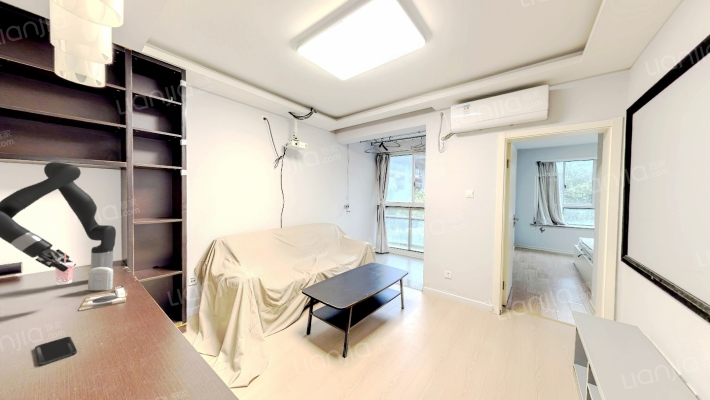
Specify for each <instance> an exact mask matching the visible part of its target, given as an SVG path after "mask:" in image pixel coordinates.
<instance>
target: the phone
mask: <svg viewBox="0 0 710 400" xmlns="http://www.w3.org/2000/svg"><path fill="white" fill-rule="evenodd" d="M34 351H35V356H36V361H37V366H39V367H42V366H45V365H49V364H51V363H54V362H58V361H60V360H64V359H66V358H69V357H71V356H74V355H76V354H77V353H78V350H77V347H76V345H75V344H74V341H73V339H72V337H71V336H66V337H62V338H59V339H58V338H57V339H55V340H52V341H48V342H45V343H41V344H38V345H36V346H35V347H34Z"/></svg>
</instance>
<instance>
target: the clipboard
mask: <svg viewBox="0 0 710 400" xmlns="http://www.w3.org/2000/svg"><path fill="white" fill-rule="evenodd" d="M125 291H126V292H127V293H126V296H125V297H117V296H116V295H115V293H114V292H110V293H109V292H108V293H103V294H97V295H90V296H86V298H85V299H84V301H83V302H82V304H81V306H80V307H79V309H78V312H81V311H86V310H92V309H98V308H99V309H100V308H102V307H104V308H105V307H107V306H114V305H120V304H125V303H126V301H127V296H128V292H129V290H125ZM125 300H126V301H125Z"/></svg>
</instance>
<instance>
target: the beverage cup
mask: <svg viewBox="0 0 710 400" xmlns="http://www.w3.org/2000/svg"><path fill="white" fill-rule="evenodd" d="M66 255H67V253H65V252H64V263H62V262H61V263H62V264H63V265H65V266H67V267H68V269H67V270H66V271H64V272H62V271H60V270H59V269H57V268H55V267H54V268H55V281H56V285H58V286H60V285H61V286H62V285H63V286H64V285H68V284H71V283H73V275H74V267H75V266H76V265H75V264H76V263H75V262H74V261H72V262H67V263H66ZM74 265H75V266H74Z"/></svg>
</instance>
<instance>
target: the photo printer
mask: <svg viewBox="0 0 710 400" xmlns="http://www.w3.org/2000/svg"><path fill="white" fill-rule="evenodd" d="M87 279H88V282H87V290H88V291H110V290H112V289H113V286H114V269H111V268H108V267H97V268H93V269H91V268H90V270H89V272H88V278H87Z"/></svg>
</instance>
